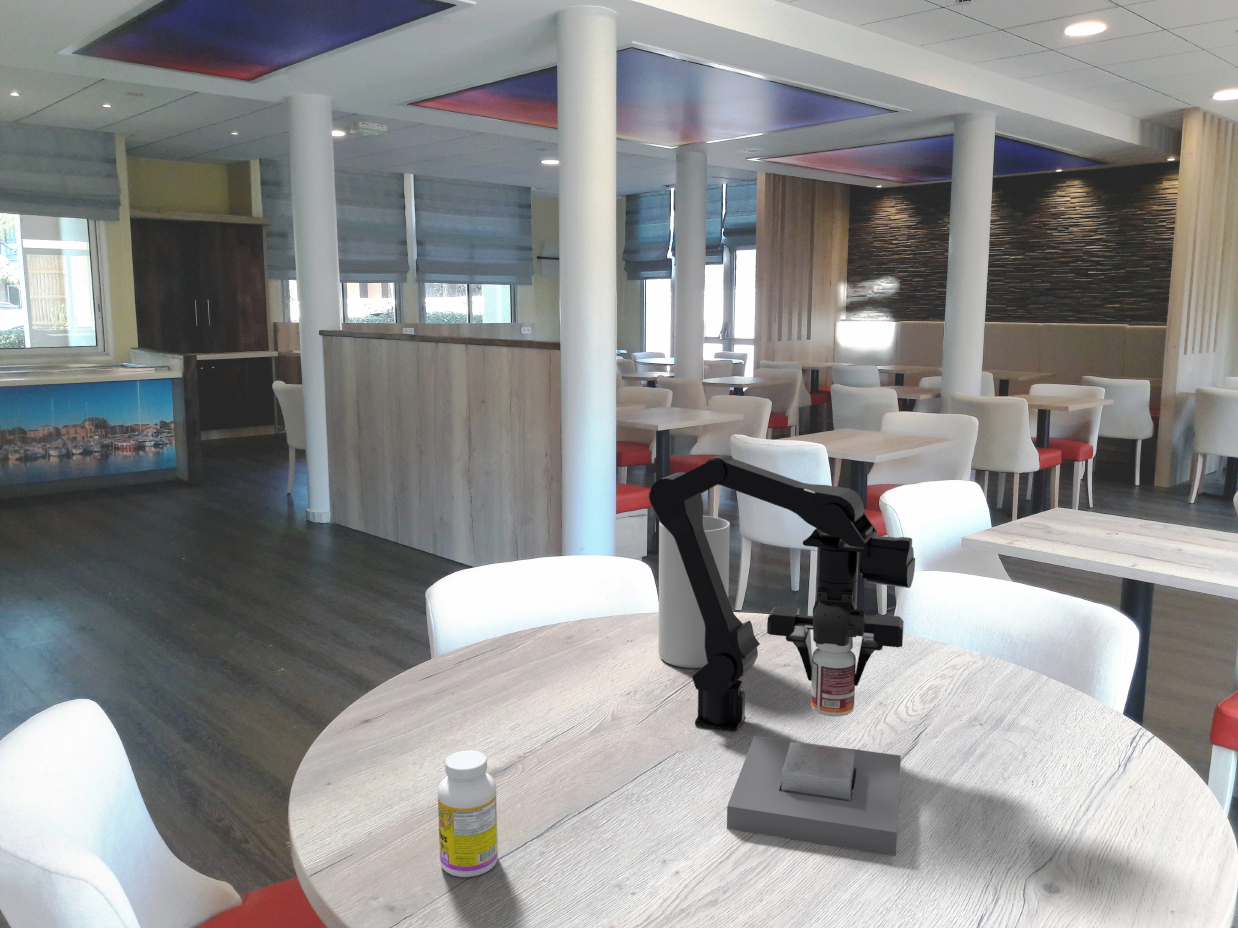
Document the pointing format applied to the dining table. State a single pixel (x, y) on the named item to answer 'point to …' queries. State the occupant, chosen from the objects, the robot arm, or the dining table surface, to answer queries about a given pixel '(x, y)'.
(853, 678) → the pill bottle
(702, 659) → the cylinder vase
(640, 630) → the dining table surface
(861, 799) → the plate
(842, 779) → the plunger pad
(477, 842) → the supplement bottle
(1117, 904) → the dining table surface
